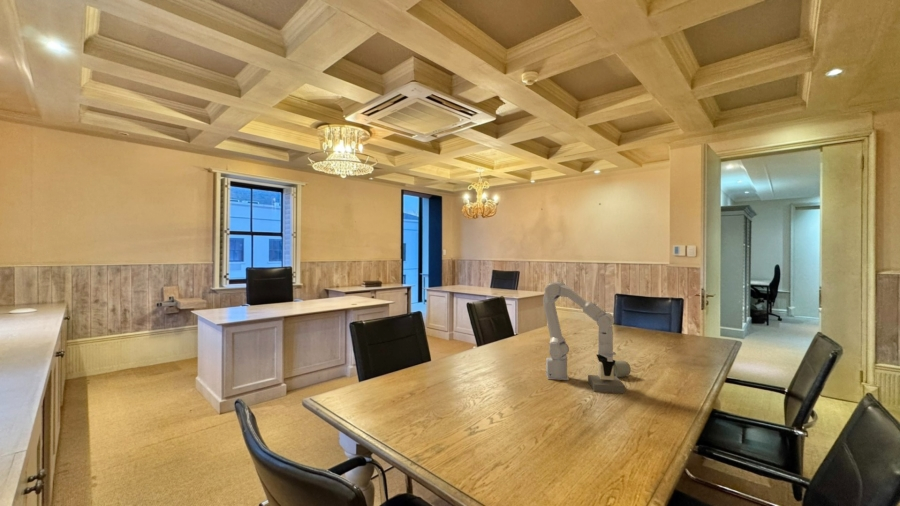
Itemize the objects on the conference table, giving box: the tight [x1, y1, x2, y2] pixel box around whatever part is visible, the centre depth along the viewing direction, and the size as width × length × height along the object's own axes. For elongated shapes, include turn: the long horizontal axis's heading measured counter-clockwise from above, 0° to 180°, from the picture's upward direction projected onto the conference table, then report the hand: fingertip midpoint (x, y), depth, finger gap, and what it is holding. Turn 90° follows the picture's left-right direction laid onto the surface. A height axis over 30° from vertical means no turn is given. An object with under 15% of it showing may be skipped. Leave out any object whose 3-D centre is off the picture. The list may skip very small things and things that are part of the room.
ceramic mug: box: [613, 359, 632, 378], centre depth 173 cm, size 11×8×8 cm
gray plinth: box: [587, 374, 626, 394], centre depth 157 cm, size 12×12×3 cm
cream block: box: [597, 361, 614, 380], centre depth 157 cm, size 5×5×6 cm
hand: (605, 373), depth 157 cm, fingers closed on cream block, 5 cm apart
